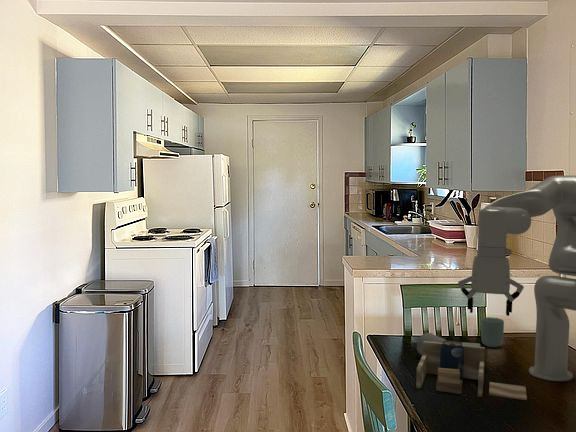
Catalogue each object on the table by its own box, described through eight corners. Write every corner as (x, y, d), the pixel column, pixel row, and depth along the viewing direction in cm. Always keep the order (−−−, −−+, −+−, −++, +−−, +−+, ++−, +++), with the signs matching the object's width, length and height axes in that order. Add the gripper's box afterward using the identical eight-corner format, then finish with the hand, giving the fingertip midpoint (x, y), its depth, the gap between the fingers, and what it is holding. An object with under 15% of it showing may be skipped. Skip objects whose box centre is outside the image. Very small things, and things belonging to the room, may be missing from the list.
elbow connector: (416, 366, 188) (481, 371, 184) (417, 333, 190) (481, 337, 185) (416, 362, 205) (475, 366, 201) (416, 331, 207) (475, 335, 202)
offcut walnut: (437, 387, 173) (437, 377, 173) (461, 390, 171) (462, 380, 171) (436, 391, 169) (436, 381, 169) (461, 394, 167) (461, 384, 167)
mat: (489, 383, 176) (489, 381, 176) (525, 388, 172) (525, 386, 172) (489, 395, 166) (489, 393, 166) (526, 400, 163) (526, 398, 163)
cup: (476, 344, 219) (477, 317, 219) (493, 342, 222) (494, 316, 221) (489, 349, 212) (490, 322, 211) (507, 348, 214) (508, 321, 214)
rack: (422, 371, 186) (423, 340, 185) (483, 379, 180) (484, 347, 179) (416, 388, 171) (417, 354, 170) (482, 396, 165) (483, 362, 164)
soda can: (464, 386, 173) (466, 346, 172) (440, 384, 174) (441, 345, 173) (461, 378, 180) (462, 340, 179) (438, 377, 181) (439, 339, 180)
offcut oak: (437, 377, 173) (438, 367, 172) (458, 379, 171) (459, 369, 171) (438, 382, 169) (438, 371, 168) (459, 384, 167) (459, 373, 167)
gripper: (523, 252, 163) (521, 313, 164) (459, 249, 168) (457, 308, 169) (526, 255, 156) (523, 319, 157) (458, 252, 161) (456, 313, 162)
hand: (489, 313), depth 163 cm, fingers open, 9 cm apart
